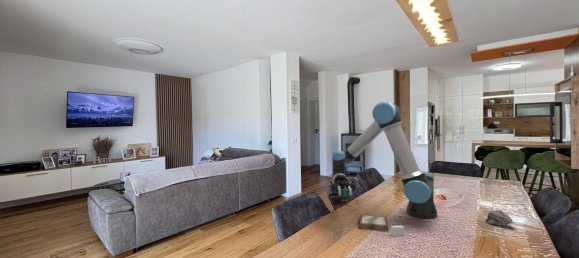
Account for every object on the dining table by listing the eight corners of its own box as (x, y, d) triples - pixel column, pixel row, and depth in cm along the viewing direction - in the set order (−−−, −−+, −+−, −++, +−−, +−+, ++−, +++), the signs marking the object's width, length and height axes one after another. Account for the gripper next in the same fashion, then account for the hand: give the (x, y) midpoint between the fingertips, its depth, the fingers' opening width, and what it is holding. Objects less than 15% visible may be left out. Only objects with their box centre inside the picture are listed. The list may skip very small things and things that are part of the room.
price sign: (402, 234, 114) (402, 225, 114) (403, 235, 112) (403, 227, 112) (391, 234, 114) (391, 226, 113) (392, 236, 112) (392, 227, 112)
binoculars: (327, 181, 129) (347, 180, 127) (330, 202, 129) (349, 201, 127) (326, 185, 120) (347, 184, 118) (328, 207, 120) (350, 206, 118)
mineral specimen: (499, 233, 125) (490, 232, 120) (487, 218, 131) (478, 216, 126) (518, 223, 120) (510, 221, 115) (505, 208, 126) (496, 206, 121)
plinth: (386, 221, 128) (386, 216, 128) (388, 231, 117) (388, 225, 117) (360, 219, 132) (359, 214, 132) (359, 228, 120) (359, 223, 120)
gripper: (356, 187, 141) (364, 200, 118) (324, 187, 143) (326, 199, 120) (356, 174, 141) (364, 184, 118) (324, 174, 143) (326, 184, 119)
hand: (345, 192), depth 119 cm, fingers closed on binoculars, 4 cm apart
